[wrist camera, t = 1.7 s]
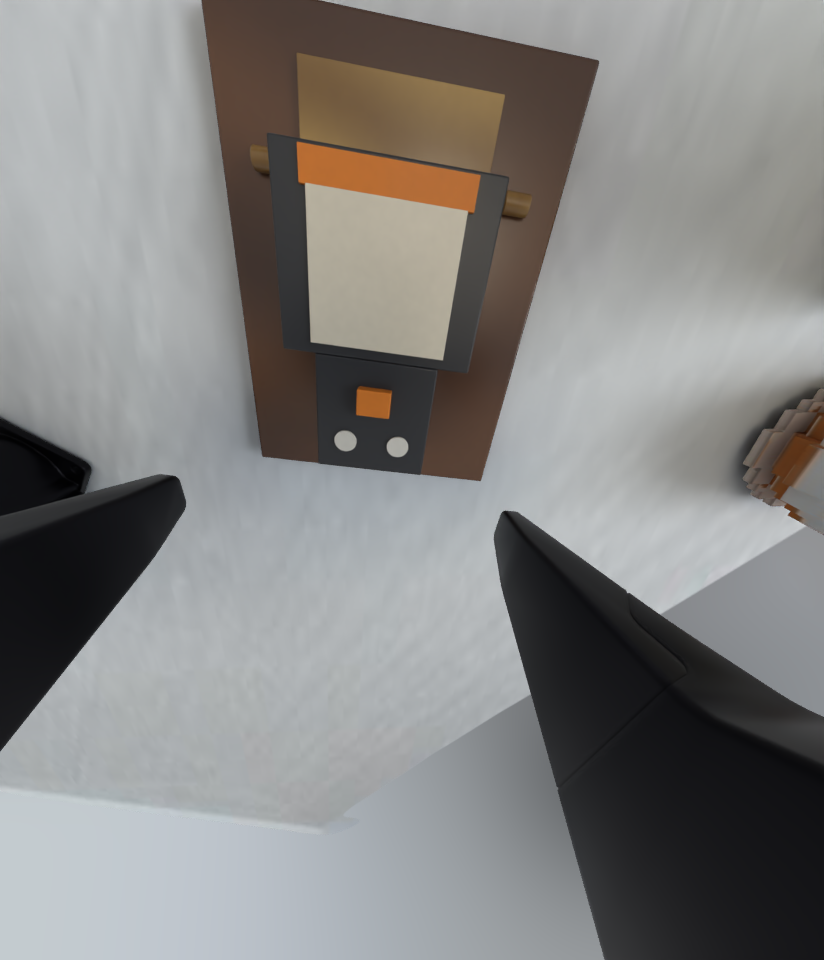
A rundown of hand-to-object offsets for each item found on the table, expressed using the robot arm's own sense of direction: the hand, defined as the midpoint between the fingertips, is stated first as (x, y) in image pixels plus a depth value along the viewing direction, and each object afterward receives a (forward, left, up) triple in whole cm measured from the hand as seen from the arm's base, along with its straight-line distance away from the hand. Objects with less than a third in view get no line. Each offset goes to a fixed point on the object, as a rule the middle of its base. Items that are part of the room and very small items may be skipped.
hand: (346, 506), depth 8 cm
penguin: (-2, +3, -8) cm, 9 cm away
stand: (-2, +4, -10) cm, 11 cm away
